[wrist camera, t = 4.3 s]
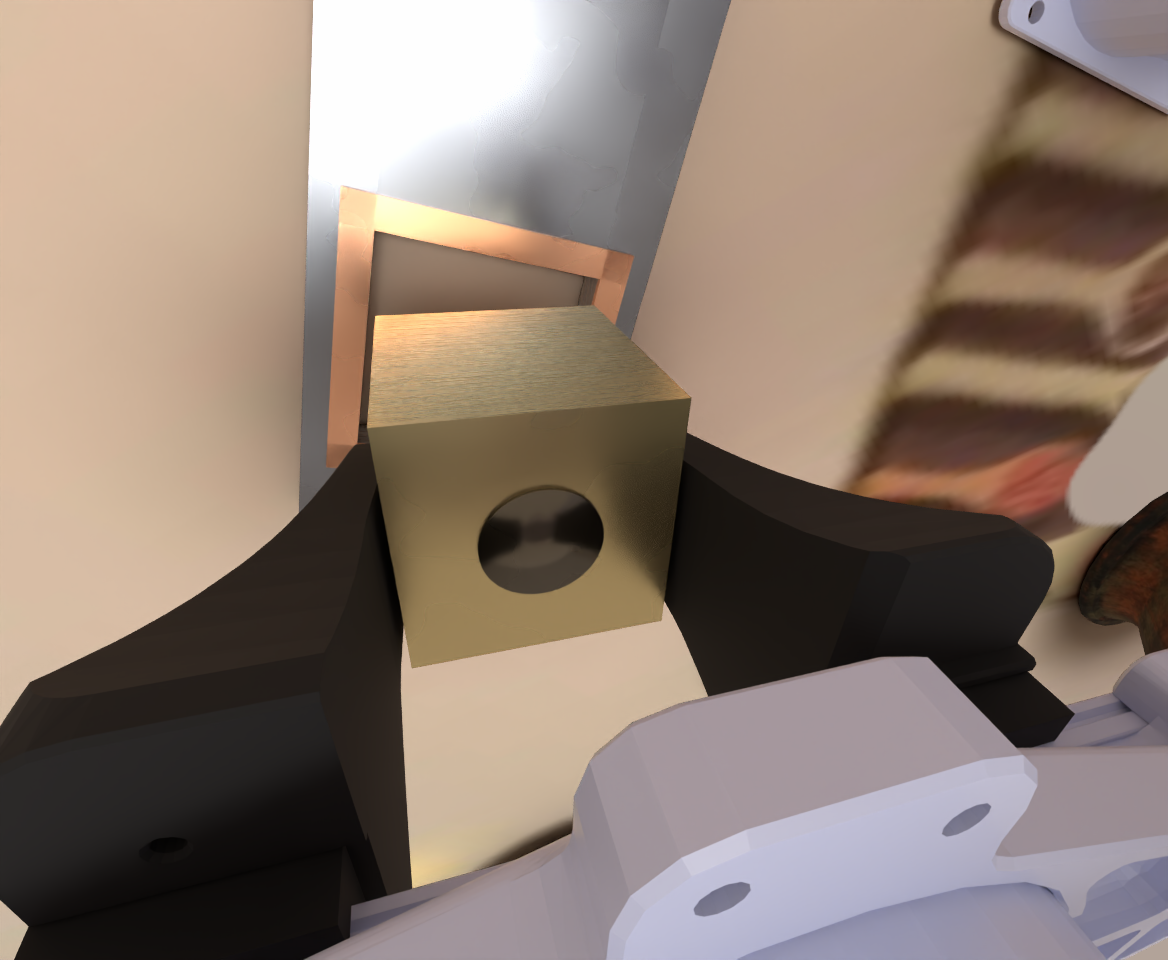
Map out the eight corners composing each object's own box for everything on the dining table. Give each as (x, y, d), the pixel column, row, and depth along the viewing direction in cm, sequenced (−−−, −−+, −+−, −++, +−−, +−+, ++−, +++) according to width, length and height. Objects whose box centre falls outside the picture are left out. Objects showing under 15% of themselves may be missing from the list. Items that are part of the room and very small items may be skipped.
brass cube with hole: (594, 305, 13) (692, 399, 8) (587, 482, 15) (662, 623, 11) (375, 315, 12) (366, 430, 7) (405, 504, 14) (412, 671, 10)
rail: (910, -704, 10) (975, -804, 9) (564, 517, 22) (573, 539, 21) (361, -1304, 7) (356, -1574, 6) (303, 501, 19) (298, 527, 18)
